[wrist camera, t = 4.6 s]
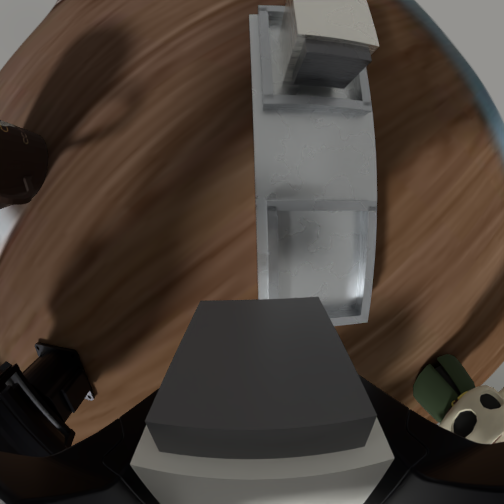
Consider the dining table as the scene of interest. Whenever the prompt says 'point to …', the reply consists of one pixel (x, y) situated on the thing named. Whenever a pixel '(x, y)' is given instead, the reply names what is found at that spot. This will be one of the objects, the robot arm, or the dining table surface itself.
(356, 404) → the light grey upright block
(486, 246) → the dining table surface
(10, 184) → the coffee mug
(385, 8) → the dining table surface
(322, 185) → the rail
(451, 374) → the character mug
